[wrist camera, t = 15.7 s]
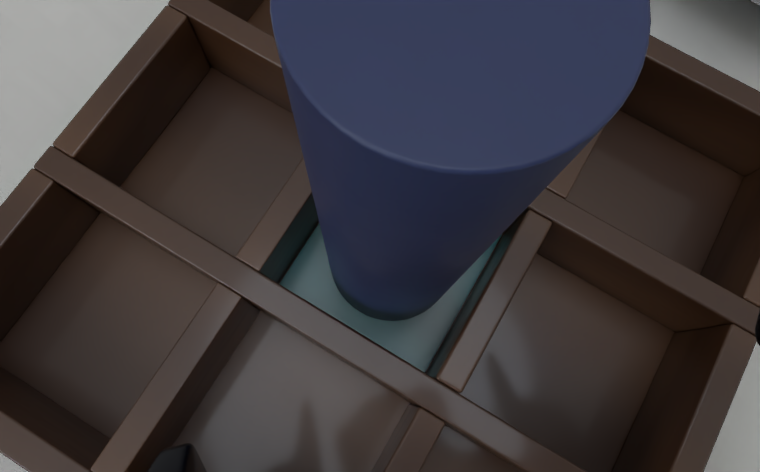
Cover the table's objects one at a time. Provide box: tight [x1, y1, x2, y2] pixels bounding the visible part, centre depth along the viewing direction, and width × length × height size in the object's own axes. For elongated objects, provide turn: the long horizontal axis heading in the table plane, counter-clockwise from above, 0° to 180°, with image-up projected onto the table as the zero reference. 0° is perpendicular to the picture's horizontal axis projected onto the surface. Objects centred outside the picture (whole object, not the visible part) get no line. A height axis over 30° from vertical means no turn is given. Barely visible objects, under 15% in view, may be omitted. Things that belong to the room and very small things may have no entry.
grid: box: [0, 0, 760, 472], centre depth 17 cm, size 20×20×4 cm
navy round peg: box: [270, 0, 651, 321], centre depth 12 cm, size 4×4×13 cm
